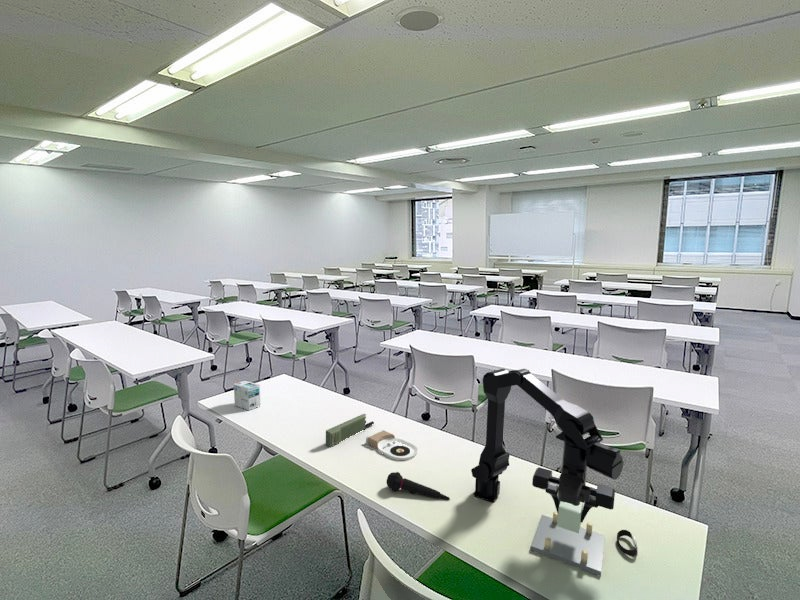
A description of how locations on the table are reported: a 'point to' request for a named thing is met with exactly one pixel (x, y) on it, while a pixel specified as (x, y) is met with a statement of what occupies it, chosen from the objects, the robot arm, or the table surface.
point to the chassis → (569, 544)
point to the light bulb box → (247, 395)
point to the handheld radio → (346, 430)
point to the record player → (391, 445)
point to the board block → (570, 516)
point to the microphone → (411, 486)
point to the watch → (633, 552)
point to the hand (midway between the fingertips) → (570, 517)
